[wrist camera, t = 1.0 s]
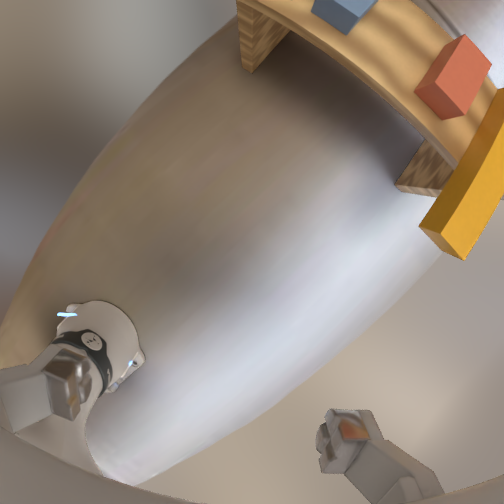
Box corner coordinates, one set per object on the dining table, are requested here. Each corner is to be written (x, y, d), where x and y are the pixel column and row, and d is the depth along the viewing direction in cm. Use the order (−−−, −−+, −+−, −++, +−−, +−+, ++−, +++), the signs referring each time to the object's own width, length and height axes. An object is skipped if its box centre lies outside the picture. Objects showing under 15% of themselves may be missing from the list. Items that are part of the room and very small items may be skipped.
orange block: (441, 250, 27) (464, 261, 23) (417, 226, 26) (440, 234, 23) (516, 115, 23) (538, 112, 19) (497, 89, 23) (519, 83, 19)
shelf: (401, 192, 49) (493, 208, 26) (241, 67, 44) (235, -11, 21) (434, 142, 47) (528, 133, 24) (284, 20, 42) (304, -66, 19)
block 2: (441, 120, 24) (465, 115, 20) (413, 91, 23) (434, 81, 20) (470, 72, 22) (492, 64, 19) (444, 45, 22) (464, 33, 18)
